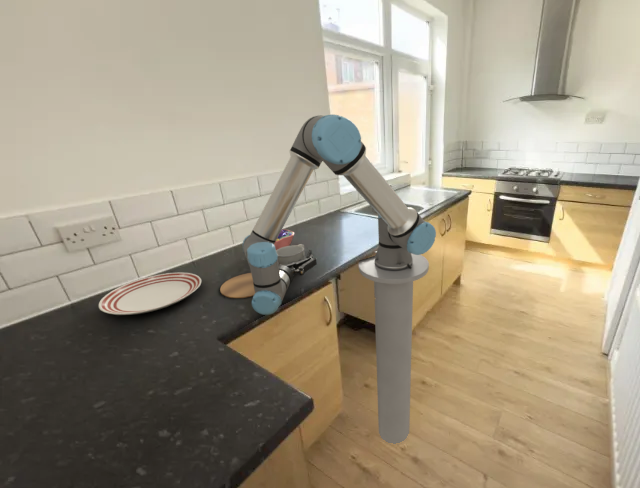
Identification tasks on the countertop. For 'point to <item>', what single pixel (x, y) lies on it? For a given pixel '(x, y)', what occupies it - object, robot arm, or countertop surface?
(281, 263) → the teacup
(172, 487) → the countertop surface
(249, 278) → the cork mat
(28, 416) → the countertop surface
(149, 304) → the dinner plate
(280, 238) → the cell model
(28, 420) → the countertop surface
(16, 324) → the countertop surface
